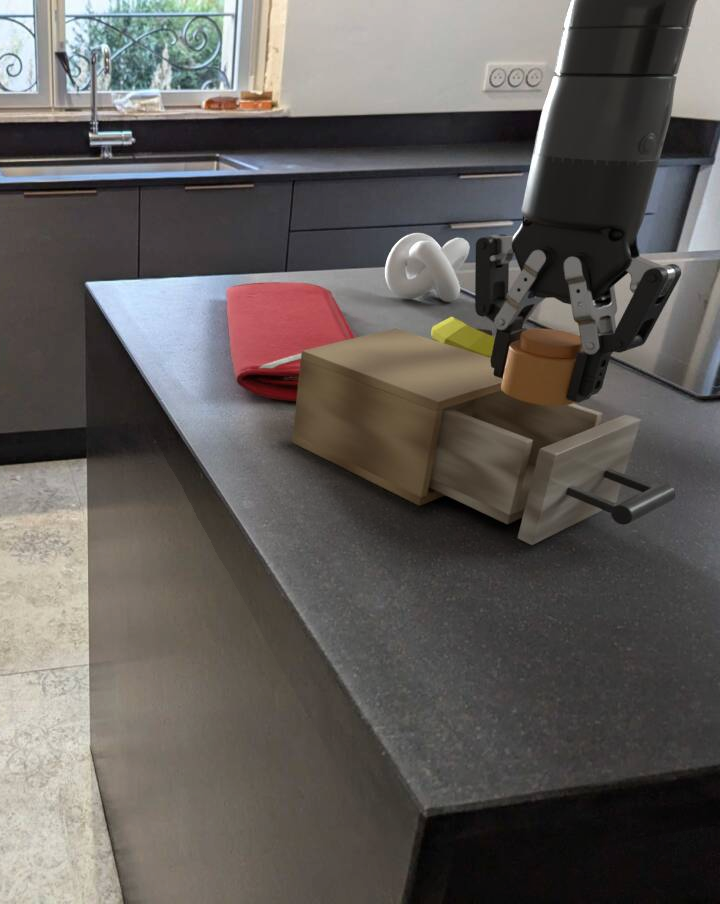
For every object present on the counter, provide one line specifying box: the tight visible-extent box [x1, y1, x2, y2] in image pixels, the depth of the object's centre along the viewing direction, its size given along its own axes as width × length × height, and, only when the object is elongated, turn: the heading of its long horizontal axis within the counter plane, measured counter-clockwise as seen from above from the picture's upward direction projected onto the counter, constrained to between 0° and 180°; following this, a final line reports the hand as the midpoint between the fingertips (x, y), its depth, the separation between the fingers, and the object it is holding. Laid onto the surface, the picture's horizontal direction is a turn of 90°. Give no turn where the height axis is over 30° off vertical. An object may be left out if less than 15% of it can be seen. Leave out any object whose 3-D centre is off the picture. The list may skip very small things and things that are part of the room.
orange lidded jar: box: [501, 328, 583, 406], centre depth 61 cm, size 5×5×4 cm
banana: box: [430, 316, 495, 358], centre depth 98 cm, size 5×17×15 cm
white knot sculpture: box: [384, 232, 471, 303], centre depth 124 cm, size 11×12×9 cm
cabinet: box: [291, 327, 502, 507], centre depth 73 cm, size 15×13×9 cm
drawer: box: [429, 390, 676, 546], centre depth 64 cm, size 18×11×7 cm, turn 33°
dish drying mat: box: [225, 281, 357, 402], centre depth 103 cm, size 16×41×4 cm, turn 174°
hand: (540, 386), depth 62 cm, fingers closed on orange lidded jar, 5 cm apart
